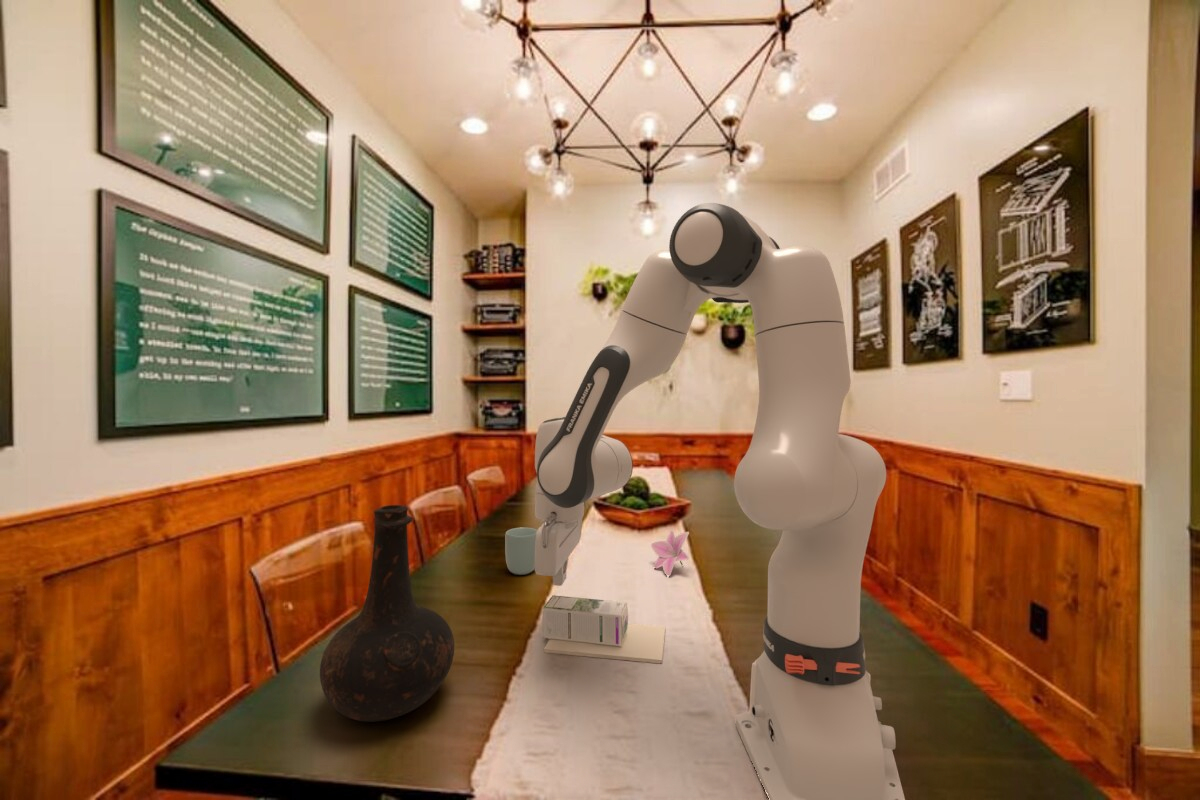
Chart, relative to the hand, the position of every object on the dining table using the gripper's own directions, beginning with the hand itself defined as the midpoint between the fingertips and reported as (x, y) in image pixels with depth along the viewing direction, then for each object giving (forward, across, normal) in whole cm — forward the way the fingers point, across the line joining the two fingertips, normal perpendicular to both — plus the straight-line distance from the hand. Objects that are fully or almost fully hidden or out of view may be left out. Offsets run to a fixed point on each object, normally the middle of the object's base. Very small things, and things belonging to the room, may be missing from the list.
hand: (559, 582), depth 93 cm
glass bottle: (+10, -23, +19) cm, 31 cm away
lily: (+10, +38, -19) cm, 44 cm away
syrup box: (+6, 0, +3) cm, 7 cm away
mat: (+10, 0, -9) cm, 13 cm away
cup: (+10, +30, +17) cm, 36 cm away
